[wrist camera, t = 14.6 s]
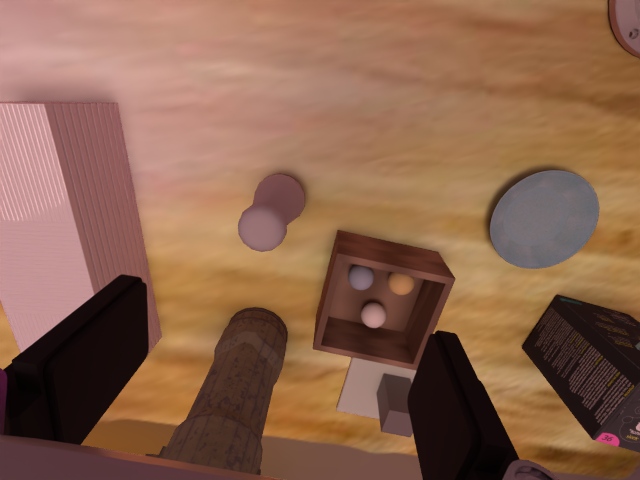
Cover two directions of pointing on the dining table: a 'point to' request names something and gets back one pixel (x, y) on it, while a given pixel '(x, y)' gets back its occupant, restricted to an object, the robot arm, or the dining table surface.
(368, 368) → the lid
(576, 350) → the tampon box
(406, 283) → the ball
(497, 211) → the saucer
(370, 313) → the ball
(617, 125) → the dining table surface
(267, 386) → the thermos
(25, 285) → the pink rectangular block
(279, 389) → the dining table surface
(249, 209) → the salt shaker
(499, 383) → the dining table surface
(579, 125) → the dining table surface
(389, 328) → the box
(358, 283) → the ball
